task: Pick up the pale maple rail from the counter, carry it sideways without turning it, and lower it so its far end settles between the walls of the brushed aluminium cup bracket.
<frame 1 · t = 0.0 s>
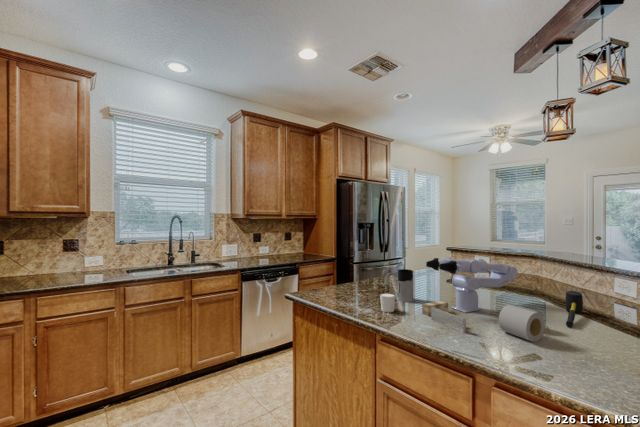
hand: (433, 265, 135), 22 cm above the worktop, tool horizontal, fingers open, 7 cm apart
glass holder: (400, 299, 159), on the worktop
cup bracket: (449, 325, 122), on the worktop
mallet: (572, 319, 130), on the worktop
toilet paper: (521, 337, 111), on the worktop
ceramic mug: (527, 327, 121), on the worktop
shot glass: (387, 310, 141), on the worktop
maple rail: (435, 313, 138), on the worktop
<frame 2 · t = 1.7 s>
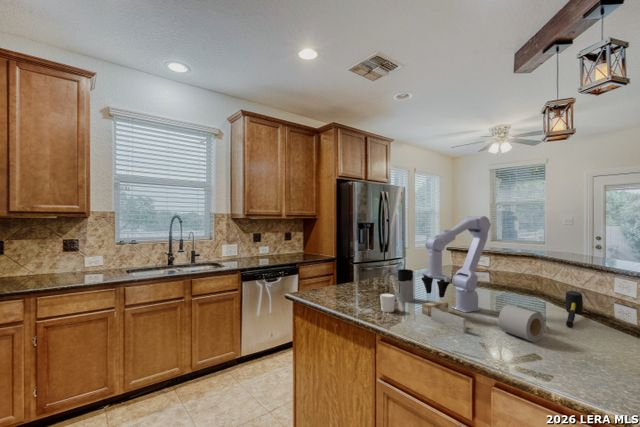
hand: (435, 295, 138), 8 cm above the worktop, tool pointing down, fingers open, 7 cm apart
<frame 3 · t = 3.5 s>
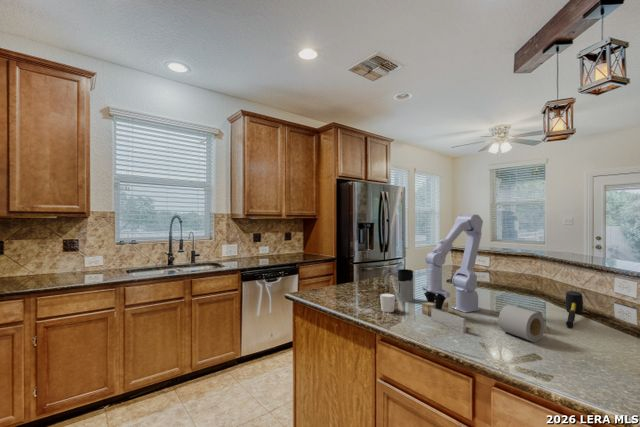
hand: (435, 309, 138), 1 cm above the worktop, tool pointing down, fingers closed on maple rail, 3 cm apart
maple rail: (435, 312, 138), on the worktop, touching gripper
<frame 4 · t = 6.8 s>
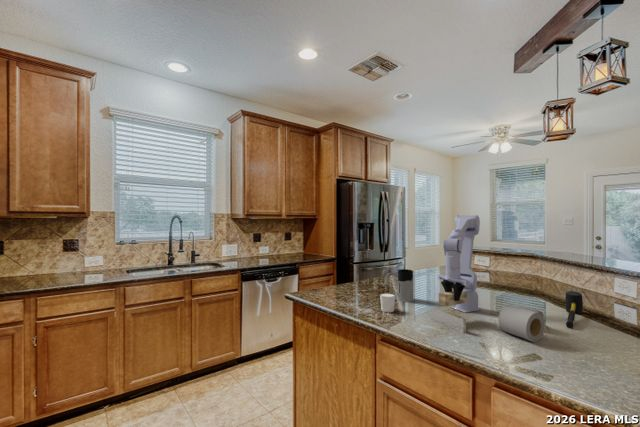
hand: (453, 299, 129), 8 cm above the worktop, tool pointing down, fingers closed on maple rail, 3 cm apart
maple rail: (452, 303, 129), point 7 cm above the worktop, touching gripper
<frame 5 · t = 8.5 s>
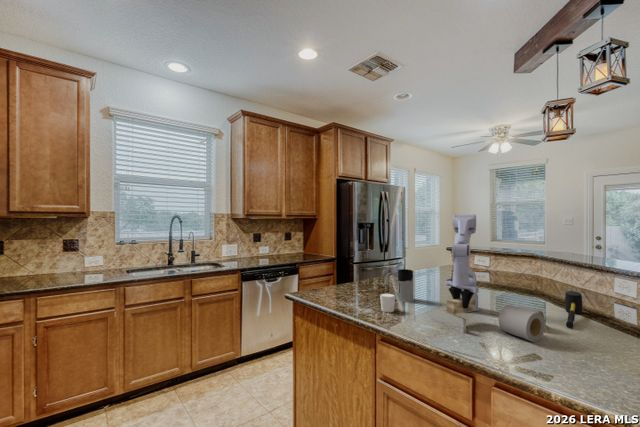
hand: (461, 306, 125), 6 cm above the worktop, tool pointing down, fingers closed on maple rail, 3 cm apart
maple rail: (461, 310, 125), point 5 cm above the worktop, touching gripper
when the fingers open (2 cm above the worktop, at t = 10.1 s): maple rail stays where it is, on the worktop.
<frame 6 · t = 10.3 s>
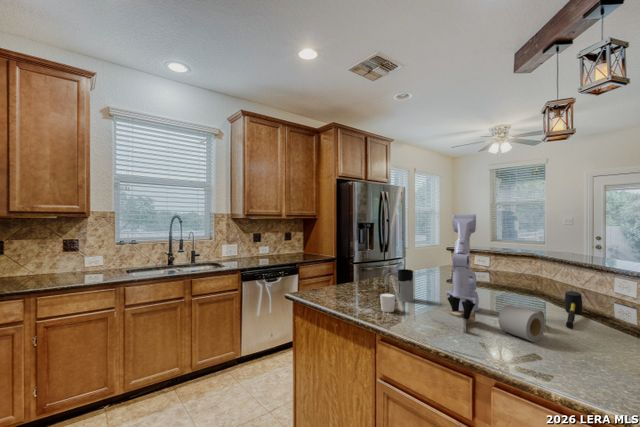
hand: (461, 316, 125), 2 cm above the worktop, tool pointing down, fingers open, 5 cm apart
maple rail: (461, 323, 125), on the worktop
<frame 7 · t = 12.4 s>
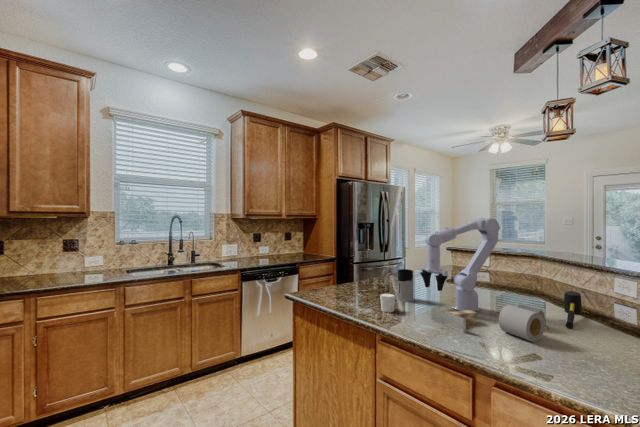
hand: (433, 288, 143), 9 cm above the worktop, tool pointing down, fingers open, 7 cm apart
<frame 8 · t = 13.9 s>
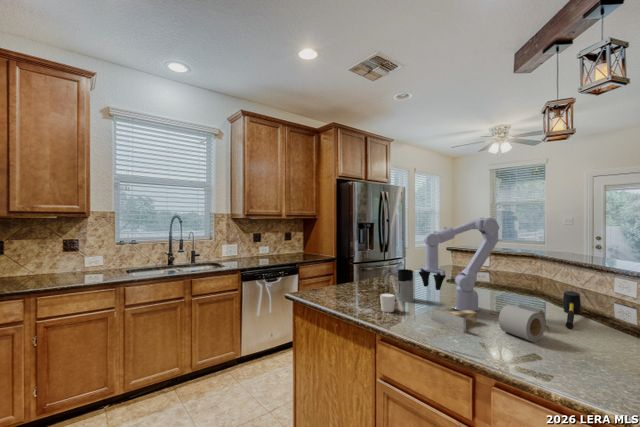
hand: (431, 288, 145), 9 cm above the worktop, tool pointing down, fingers open, 7 cm apart
at the end: maple rail 0.2 cm from the target spot on the worktop beside the cup bracket, on the worktop; maple rail tilted 0°; the gripper is holding nothing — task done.
